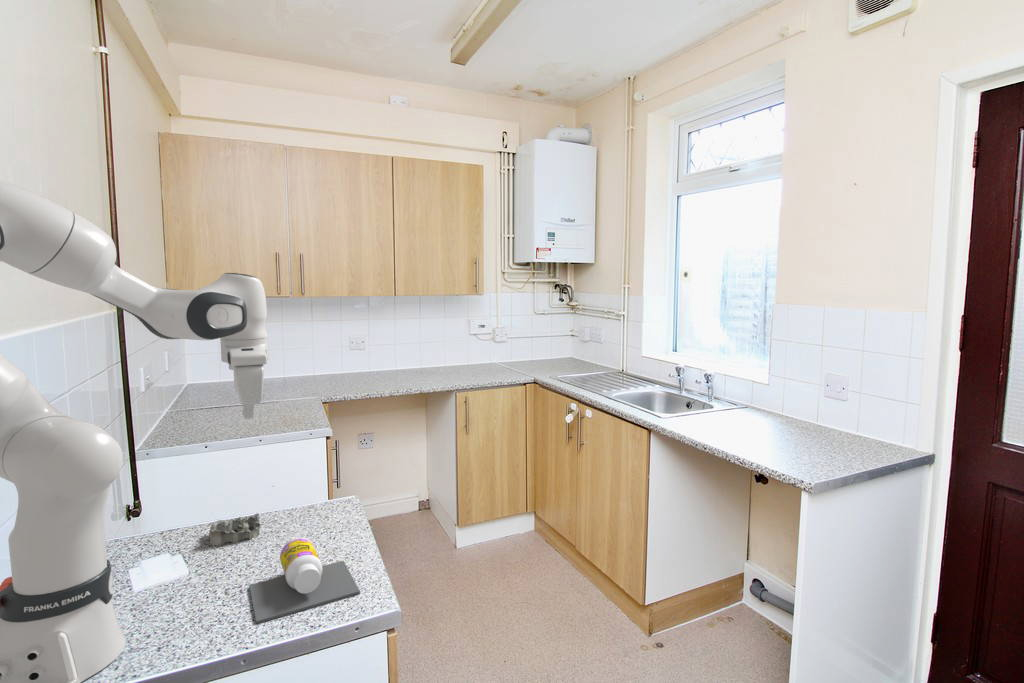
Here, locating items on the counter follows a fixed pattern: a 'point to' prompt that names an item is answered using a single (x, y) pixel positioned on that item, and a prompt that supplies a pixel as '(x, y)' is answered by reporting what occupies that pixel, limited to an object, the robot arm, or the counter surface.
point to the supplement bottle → (301, 565)
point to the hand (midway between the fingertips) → (248, 417)
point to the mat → (284, 600)
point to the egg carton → (225, 529)
